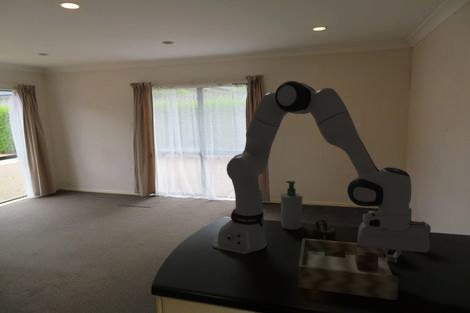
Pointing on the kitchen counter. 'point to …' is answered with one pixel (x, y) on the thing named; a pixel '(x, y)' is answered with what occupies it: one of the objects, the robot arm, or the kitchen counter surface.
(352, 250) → the tray
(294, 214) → the soap bottle
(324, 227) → the kendama
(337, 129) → the robot arm
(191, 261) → the kitchen counter surface
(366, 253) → the walnut block
